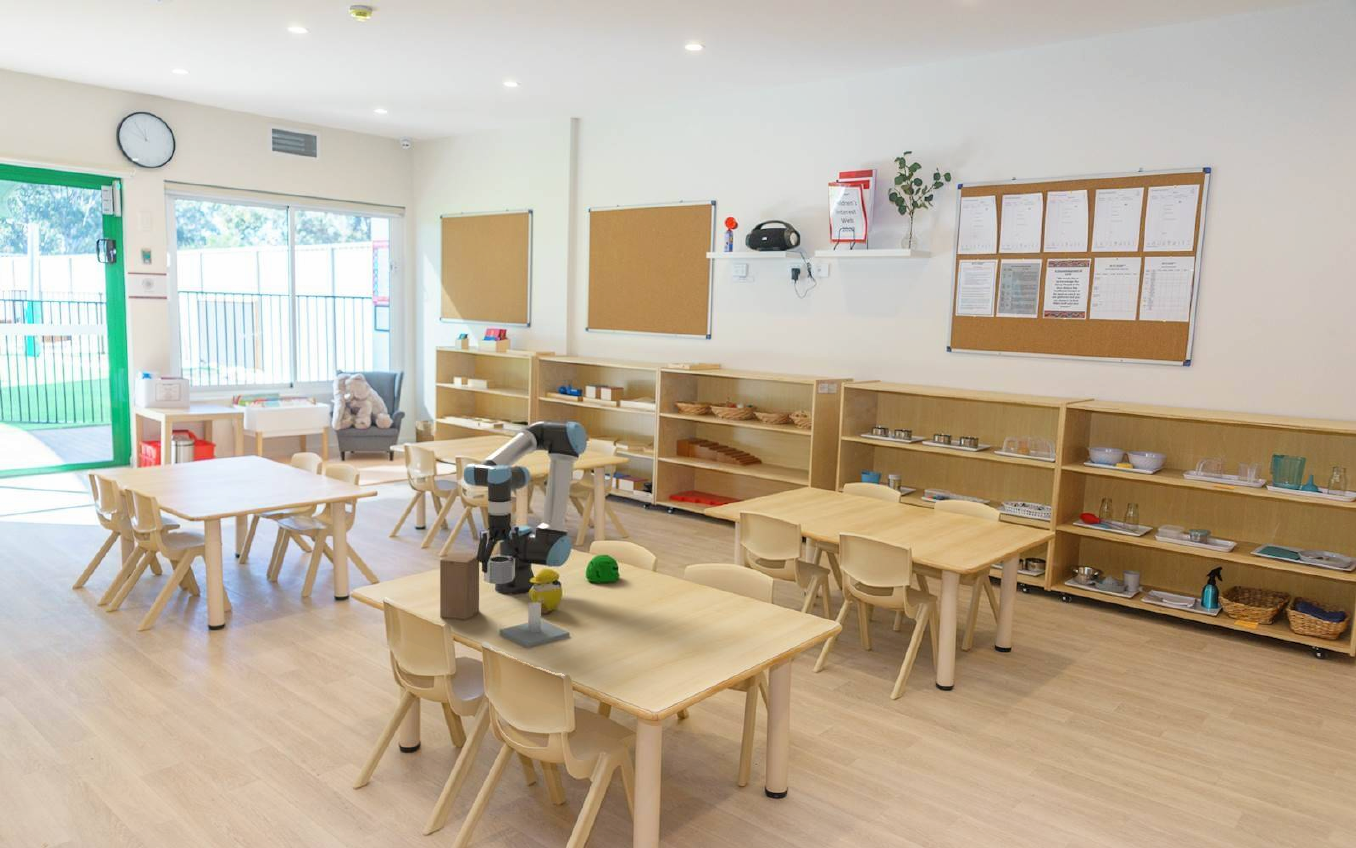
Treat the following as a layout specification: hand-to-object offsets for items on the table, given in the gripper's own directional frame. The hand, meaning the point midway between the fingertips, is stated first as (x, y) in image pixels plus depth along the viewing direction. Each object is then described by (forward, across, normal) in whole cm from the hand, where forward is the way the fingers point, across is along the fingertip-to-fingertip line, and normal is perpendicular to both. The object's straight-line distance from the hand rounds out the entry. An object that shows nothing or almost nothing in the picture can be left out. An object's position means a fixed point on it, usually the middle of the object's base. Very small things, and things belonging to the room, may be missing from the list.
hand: (499, 578), depth 304 cm
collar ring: (0, 0, 0) cm, 0 cm away
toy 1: (+15, -18, 0) cm, 24 cm away
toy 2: (+16, -58, -17) cm, 62 cm away
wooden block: (+15, +6, -15) cm, 22 cm away
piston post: (+15, -2, +18) cm, 24 cm away
